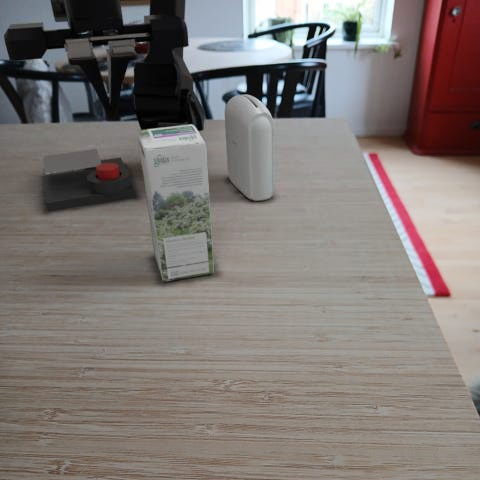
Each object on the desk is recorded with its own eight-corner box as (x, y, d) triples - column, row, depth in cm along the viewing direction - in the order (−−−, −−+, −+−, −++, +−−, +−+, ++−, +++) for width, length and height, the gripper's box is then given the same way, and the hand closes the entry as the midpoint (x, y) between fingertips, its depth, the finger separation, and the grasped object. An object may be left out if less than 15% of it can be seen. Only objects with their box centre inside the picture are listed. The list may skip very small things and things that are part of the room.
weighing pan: (97, 151, 80) (96, 148, 80) (102, 168, 74) (102, 165, 74) (43, 158, 78) (43, 155, 78) (45, 176, 72) (44, 173, 72)
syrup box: (204, 250, 59) (193, 120, 51) (215, 275, 55) (205, 138, 46) (155, 258, 58) (135, 127, 50) (162, 284, 54) (142, 145, 45)
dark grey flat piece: (122, 165, 83) (119, 147, 81) (136, 199, 72) (133, 178, 70) (45, 176, 80) (40, 157, 78) (48, 213, 69) (42, 192, 67)
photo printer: (224, 178, 77) (219, 90, 70) (251, 173, 78) (249, 86, 71) (249, 204, 69) (246, 108, 62) (278, 198, 70) (279, 103, 63)
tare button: (118, 172, 73) (116, 161, 72) (121, 179, 71) (119, 168, 70) (97, 175, 73) (95, 164, 72) (99, 182, 70) (97, 171, 69)
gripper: (163, -46, 60) (177, 96, 69) (-7, -40, 56) (32, 111, 65) (182, -47, 51) (195, 117, 60) (-18, -39, 47) (29, 135, 56)
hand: (112, 119), depth 61 cm, fingers closed
